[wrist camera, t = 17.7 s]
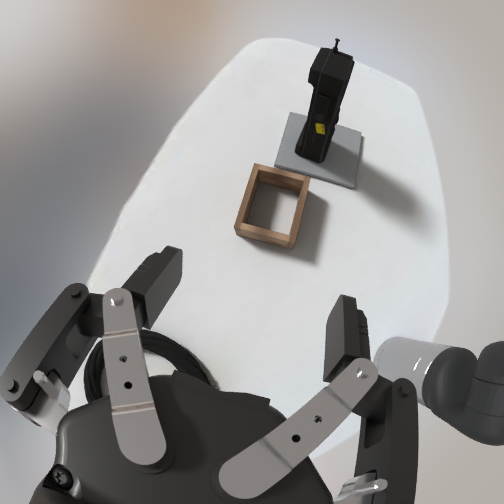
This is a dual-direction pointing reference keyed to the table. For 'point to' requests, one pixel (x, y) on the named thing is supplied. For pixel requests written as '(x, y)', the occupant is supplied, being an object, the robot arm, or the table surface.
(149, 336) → the cable lock
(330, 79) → the portable radio
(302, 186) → the walnut collar
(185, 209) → the table surface
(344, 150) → the slate mat
